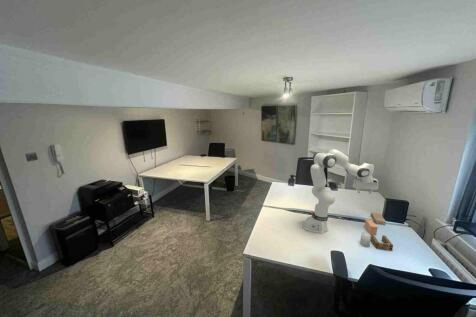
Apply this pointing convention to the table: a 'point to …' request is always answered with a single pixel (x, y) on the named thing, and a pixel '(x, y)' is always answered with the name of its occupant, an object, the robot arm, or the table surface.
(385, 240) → the lane
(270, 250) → the table surface
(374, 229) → the block
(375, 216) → the brick
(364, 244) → the white rounded piece
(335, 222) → the table surface
